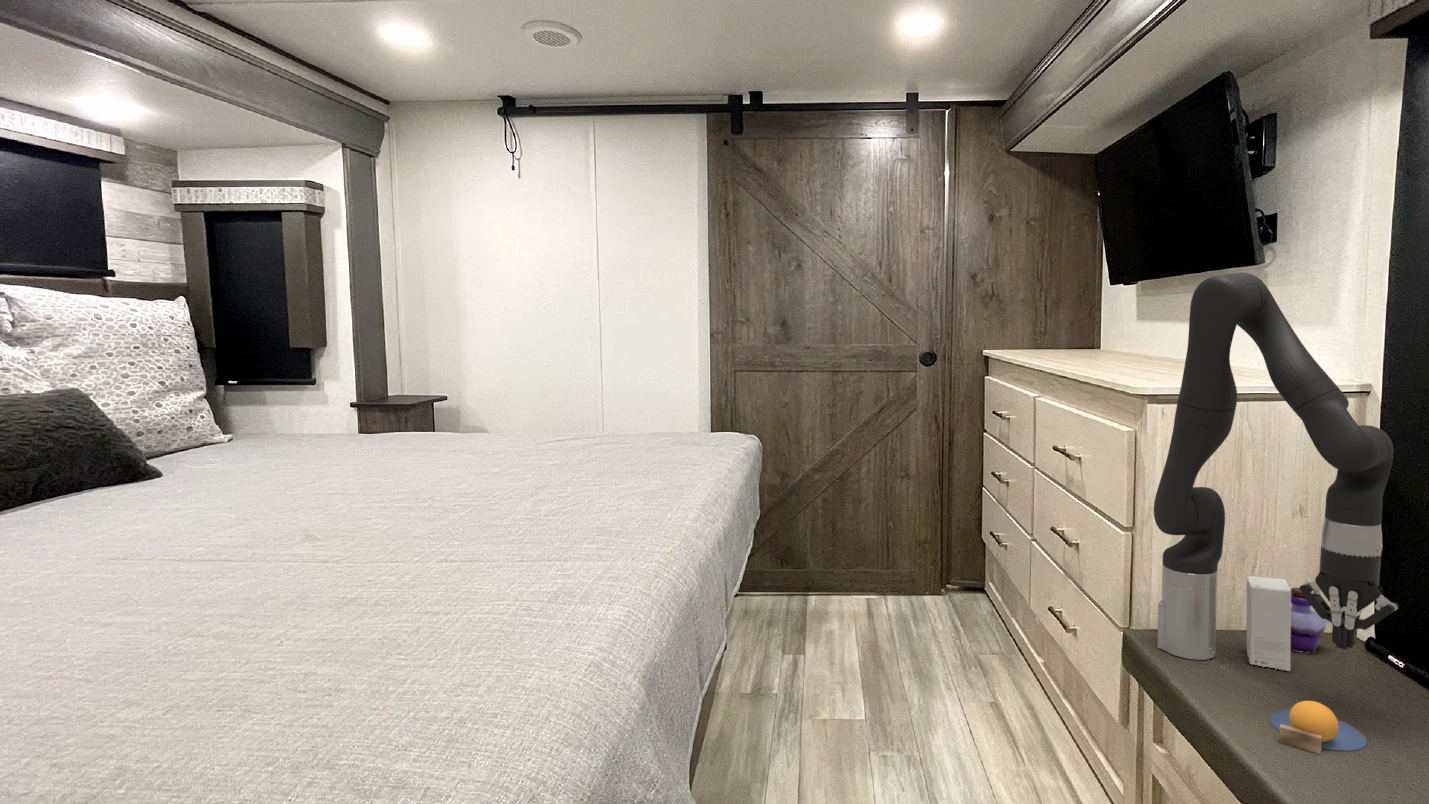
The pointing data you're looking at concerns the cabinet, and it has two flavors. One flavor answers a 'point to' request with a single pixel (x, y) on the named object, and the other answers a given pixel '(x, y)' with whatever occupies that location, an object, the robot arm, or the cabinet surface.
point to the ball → (1314, 719)
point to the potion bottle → (1304, 623)
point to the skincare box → (1269, 622)
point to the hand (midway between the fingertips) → (1343, 647)
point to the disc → (1342, 741)
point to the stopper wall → (1300, 739)
